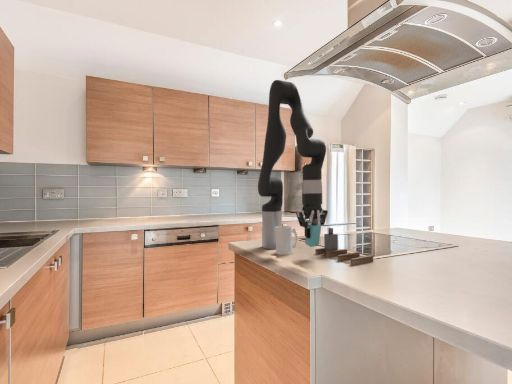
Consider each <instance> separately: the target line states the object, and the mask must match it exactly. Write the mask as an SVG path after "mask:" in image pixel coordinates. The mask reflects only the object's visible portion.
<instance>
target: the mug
mask: <svg viewBox="0 0 512 384" xmlns="http://www.w3.org/2000/svg"><path fill="white" fill-rule="evenodd" d="M275 235H276V249H275V253H276V254H277V255H278V256H288V255H289V256H290V255H292V254H293V253H292V251H293V249H294V248H296V247H297V246H296V245H297V243H298V234H297V230H296V228H293V227H292V226H291V225H282V226H276V227H275ZM293 235H294V241H293V240H292V239H293V238H292V237H293Z"/></svg>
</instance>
